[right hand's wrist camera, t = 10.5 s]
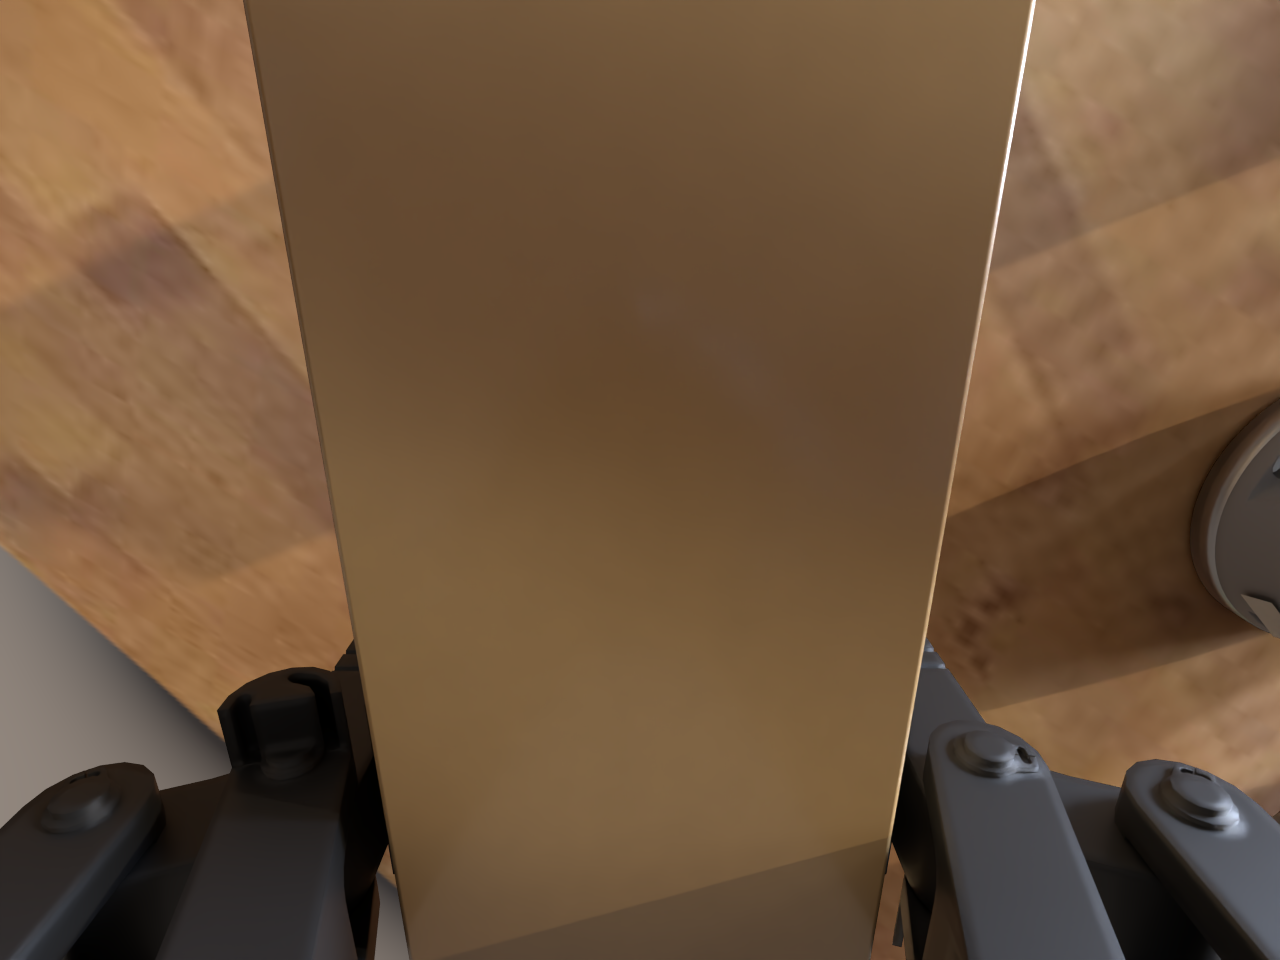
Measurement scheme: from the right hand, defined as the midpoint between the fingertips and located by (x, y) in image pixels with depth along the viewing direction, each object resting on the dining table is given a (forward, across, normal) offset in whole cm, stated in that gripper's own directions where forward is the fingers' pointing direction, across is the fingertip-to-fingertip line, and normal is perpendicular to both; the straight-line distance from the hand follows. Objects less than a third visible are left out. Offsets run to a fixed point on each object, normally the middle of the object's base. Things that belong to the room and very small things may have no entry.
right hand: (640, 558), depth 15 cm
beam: (0, 0, -35) cm, 35 cm away
